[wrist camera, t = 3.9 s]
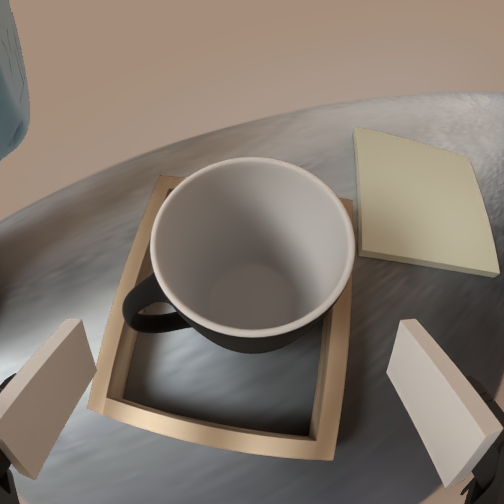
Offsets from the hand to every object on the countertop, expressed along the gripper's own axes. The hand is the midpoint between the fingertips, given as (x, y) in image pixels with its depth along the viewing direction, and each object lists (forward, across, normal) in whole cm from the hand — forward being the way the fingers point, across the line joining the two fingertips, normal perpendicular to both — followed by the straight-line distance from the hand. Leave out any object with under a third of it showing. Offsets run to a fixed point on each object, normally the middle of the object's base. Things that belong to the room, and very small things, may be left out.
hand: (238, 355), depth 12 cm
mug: (+10, -1, -4) cm, 10 cm away
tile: (+17, +18, +4) cm, 25 cm away
